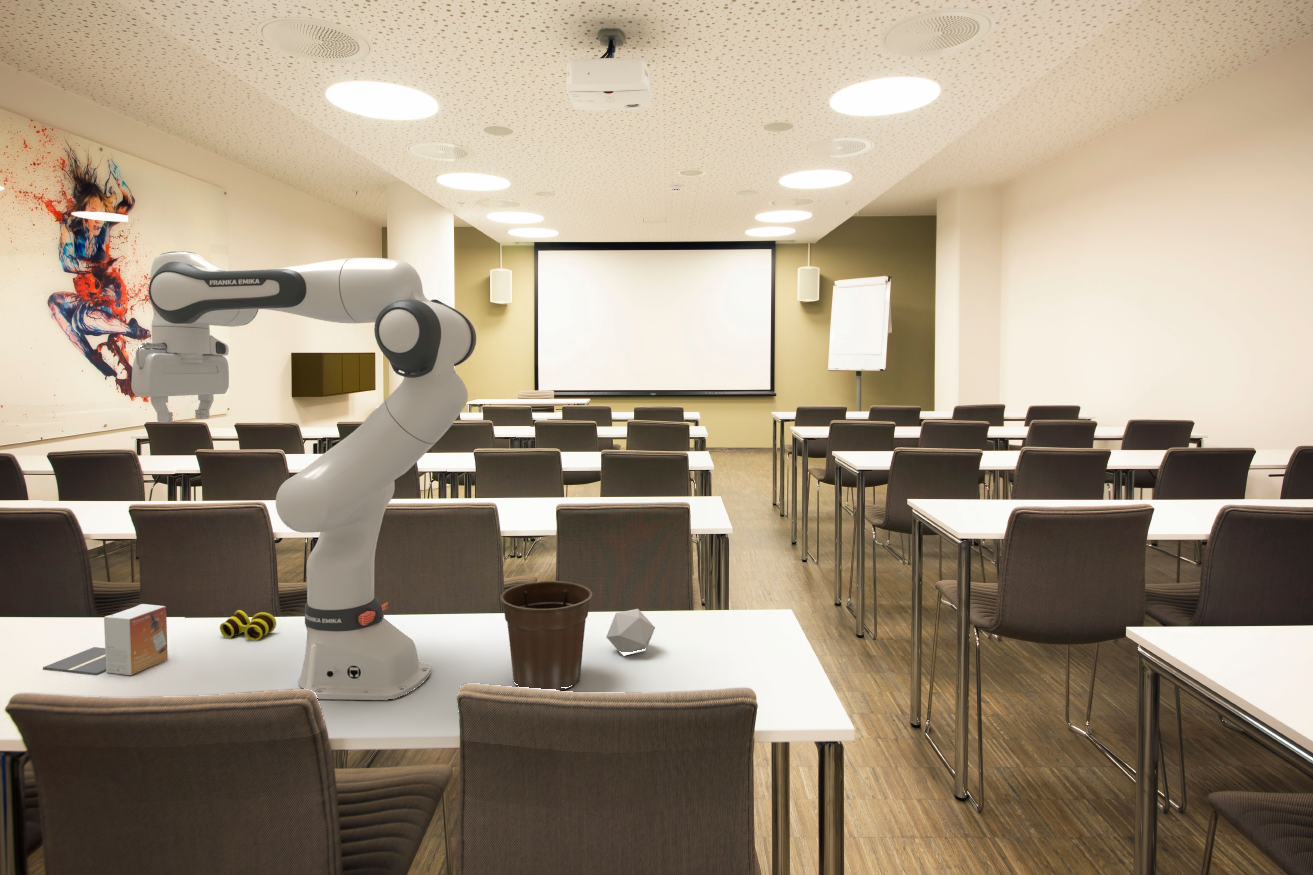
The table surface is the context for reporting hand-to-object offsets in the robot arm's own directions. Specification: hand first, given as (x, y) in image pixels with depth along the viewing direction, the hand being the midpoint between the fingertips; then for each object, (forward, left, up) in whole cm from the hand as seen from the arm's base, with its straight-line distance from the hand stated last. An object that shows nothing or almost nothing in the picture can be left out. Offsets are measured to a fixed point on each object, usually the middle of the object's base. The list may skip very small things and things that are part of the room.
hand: (184, 420), depth 133 cm
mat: (+18, +4, -46) cm, 49 cm away
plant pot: (-67, -7, -46) cm, 81 cm away
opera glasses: (0, -14, -46) cm, 48 cm away
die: (-79, -24, -46) cm, 94 cm away
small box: (+8, +4, -46) cm, 47 cm away
